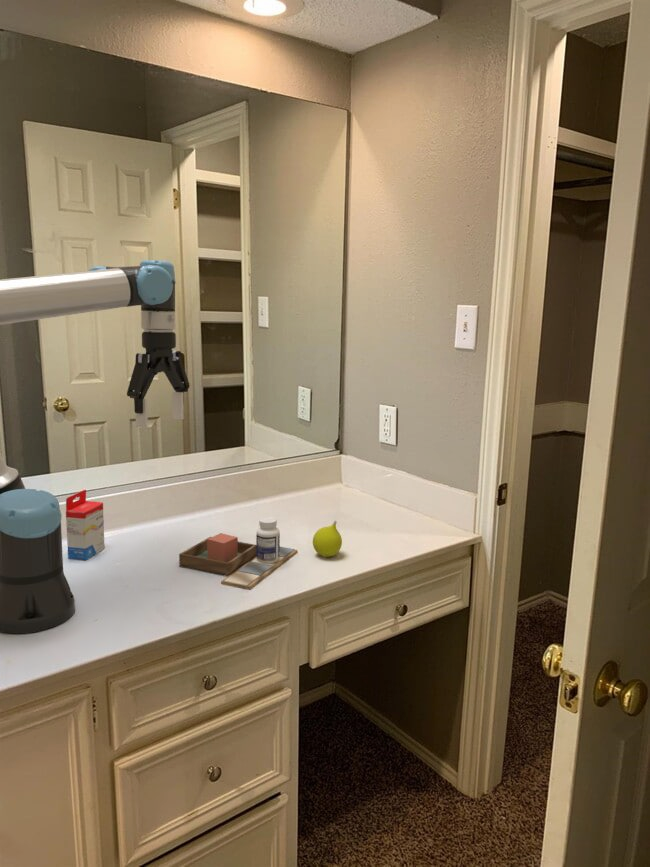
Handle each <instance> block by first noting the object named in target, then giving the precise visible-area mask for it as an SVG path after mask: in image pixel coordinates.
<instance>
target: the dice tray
mask: <svg viewBox="0 0 650 867" xmlns="http://www.w3.org/2000/svg"><path fill="white" fill-rule="evenodd" d="M211 537H212V536H209V537H207V538H205V539H203V540H202V541H200V542H198V543H197V544H195V545H193V546H191V547H189V548H187V549H186V550H184V551H183V552H180V553H179V554H178V556H179V557H178V559H179V561H178V562H179V566H178V567H180V568H185V569H189V570H195V571H199V572H204V573H205V572H206V573H209V574H214V575H220V576H225V577H228V576H229V575H231V574H232V573H233V572H235V571H236V570H238V569H239V568H241V567H242V566H243V565H245V564H246V563H248V562H249V561H251V560H252V559H253V558H255V557H256V544H254V543H253V544H252V543H248V542H242V541H238V556H237V557H235V558H234V559H232V560H231V561H229V562H223V561H218V560H213V559H208V558H207V539H208V538H211Z"/></svg>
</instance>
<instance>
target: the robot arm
mask: <svg viewBox="0 0 650 867" xmlns="http://www.w3.org/2000/svg"><path fill="white" fill-rule="evenodd" d="M176 284H177V283H176V275H175V266H174V264H173V263H172V262H171V261H168V260H156V259H152V260H150V259H144V260H141V261H140V262H139V265H135V266H133V265H132V266H106V265H103V266H99V265H98V266H97V265H96V266H91V267H90V268H89V269H88V270H87V271H75V272H66V273H65V272H62V273H55V274H54V273H53V274H45V275H35V276H32V275H31V276H25V277H14V278H2V279H0V326H1V325H8V324H16V323H22V322H23V323H24V322H31V321H36V320H43V319H50V318H58V317H64V316H70V315H77V314H85V313H93V312H100V311H106V310H112V309H119V308H128V307H137V306H140V311H141V312H140V319H141V320H140V328H141V329H142V330H143V331H142V333H141V347H142V348H143V349H145V353H138V352H137V353H136V354H135V364H134V367H133V370H132V374H131V378H130V380H129V385H128V388H127V390H126V395H127V397H129V398H130V399H133V401H134V402H133V404H134V408H133V409H134V414H135V428H141V429H148V428H149V414H148V410H149V409H148V398H145V397H146V396H147V393H148V391H149V389H150V386H151V384H152V382H153V381H154V378H155V377H156V376H157V375H158V373H164V375H165V376H166V378H167V380H168V381H169V384H170V385H171V387H172V388H173V390H174V391H171V406H172V407H171V410H172V412H171V413H172V419H173V420H184V416H185V415H184V413H185V412H184V403H185V397H184V396H185V395H184V394H185V393H188V391H189V388H190V386H191V385H190V382H189V379H188V376H187V373H186V370H185V366H184V363H183V359H182V352H181V351H180V350H173V349H175V348H177V346H176V345H177V343H176V342H177V339H176V338H177V335H176V332H175V331H174V330H175V329H176ZM62 515H63V514H62V512H61V508H60V502H59V499H58V498H57V497H56V496H55V495H54V494H53V493H50V492H48V491H45V490H42V489H41V490H37V489H35V488H26V486H25V484H24V482H23V480H22V477H21V475H20V473H19V471H18V469H17V468H13V467H10V466H8V465H7V464H6V462H5V459H4V457H3V455H2V453H1V452H0V632H1V633H5V634H29V633H34V632H35V633H36V632H40V631H45V630H48V629H51V628H54V627H56V626H59V625H60V624H63V623H65V622H66V621H67V620H69V619H70V618H71V617H72V616H73V615H74V613H75V611H76V606H75V605H76V604H75V603H76V600H75V596H74V594H73V592H72V591H71V587H70V584H69V583H68V580H67V578H66V575H65V573H64V561H63V560H64V559H63V557H64V556H63V536H62V534H63V533H62Z"/></svg>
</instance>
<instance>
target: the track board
mask: <svg viewBox="0 0 650 867" xmlns="http://www.w3.org/2000/svg"><path fill="white" fill-rule="evenodd" d="M279 554H280V556H279V560H278V561H277V562H274V563H261V562H259V561H258V560H257V557H255V558H253V559H252V560H251V561H249V562H248V563H246V564H245V565H243V566H242V567H241V568H239V569H238V570H236V571H235V572H233V573H232V574H231V575H229V576H225V578H224V579H221V581H220V584H221V585H224V586H225V585H226V586H230V587H234V588H240V589H244V590H252V588H254V587H255V586H256V585H258V584H259V583H260V582H261V581H263V580H264V579H265V578H266V577H268V576H269V575H271V574H272V573H273V572H274V571H275V570H277V569H278V568H280V567H281V566H282V565H283V564H285V563H286V562H287V561H289V560H290V559H291V558H292V557H293V556H295V555H296V554H298V549H295V548H291V547H286V546H280V553H279Z"/></svg>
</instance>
